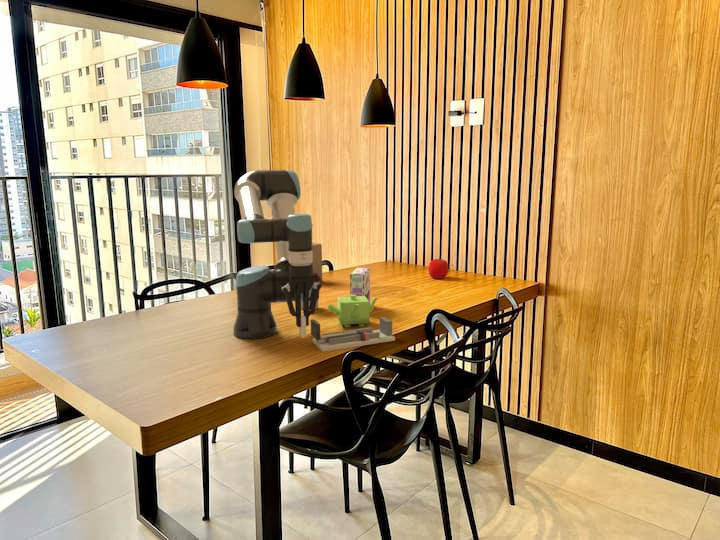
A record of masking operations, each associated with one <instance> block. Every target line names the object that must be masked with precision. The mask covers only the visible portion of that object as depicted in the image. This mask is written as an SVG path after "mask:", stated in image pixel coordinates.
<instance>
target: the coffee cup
mask: <svg viewBox="0 0 720 540" xmlns="http://www.w3.org/2000/svg"><path fill="white" fill-rule="evenodd" d="M313 278H314V280H315V282H316V283H319V284H320V282H319V281H321V277H320V276H318V275H317V273H315V272H313ZM321 282H322V281H321ZM312 291H313V286H312V289H311V295H310V297H309V306H310V301H311V296H312ZM319 298H320V292H319V293H318V297H317V302H316V307H315V310H317V309H318V308H319ZM301 311H303V300H302V301H301Z"/></svg>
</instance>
